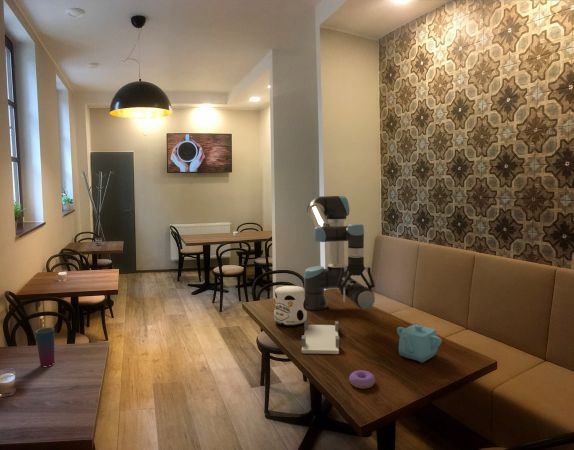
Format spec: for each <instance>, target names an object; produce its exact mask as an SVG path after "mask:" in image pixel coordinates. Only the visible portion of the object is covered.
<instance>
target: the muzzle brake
mask: <svg viewBox="0 0 574 450" xmlns="http://www.w3.org/2000/svg"><path fill="white" fill-rule="evenodd" d="M345 278H346V277H343V278H342V281H341V285H342V283H343V282H344V280H345ZM344 287H345V297H346V298H348V299H349V300H350V301H352V302H353V303H354V305H356V306H357V307H358V308H359V309H362V310H363V309H364V310H365V309H366V310H367V309H369V308H371V307H372V306H374V304H375V300H376V298H375V293H374V292H373V291H372V289H371V290H370V289H368V288H367V287H368V286H367V287H366V286H365V285H363V284H361V283H360V282H358V280H357V281H356V279H354V278H352V276H351V277H350V278H349V280H348V281H347V283H346V285H345V286H344ZM337 289H338V290H339V291H340V292H341V288H340V287H338V288H337Z"/></svg>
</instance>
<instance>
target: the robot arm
mask: <svg viewBox="0 0 574 450" xmlns="http://www.w3.org/2000/svg"><path fill="white" fill-rule="evenodd" d="M350 211H351V210H350V203H349V201H348V199H347V197H346V196H344V195H331V196H330V195H329V196H328V195H326V196H324V195H323V196H317V197H315V198H313V199H312V200H311V201H310V202H309V203H308V204H307V206H306V212H307V216H308V217H309V218H310V219H311V220H312V224H313V225H314V229H313V240H314V242H316V243H326V242H329V263H328V264H327V267H326V268H325V267H324V266H323V265H316V266H315V265H314V266H309V267H308V268H306V269H305V270H304V272H303V274H304V275H303V281H304V284H303V285H304V287H303V288H304V290H305V307H306V310H308V311H310V310H311V311H319V310H325V309H327V308H328V301H327V298H326V295H325V290H326V289H329V290H330V289H339V288H338V287H340V288H341V291H340V295H341V296H342V298H343V300H342V302H344V303H345V302H346V296H345V287H344V286H345V285H346V283H347V281H348V280H349V278H350V277H351V278H352V276H358V277H359V276H360V278H362V279H363V281H364V284H366V286H367V288H368V289H370V290H371V291H372V289H373V288H375V286H376V284H375V283H374V279H373V276H372V273H371V271H372V270H371V267H370V266H365V259H364V256H365V244H364V243H365V228H364V227H365V226H364V224H362V223H350V224H347V225H345V221H346V220H347V217H348V216H350ZM345 242H347V256H348V257H347V264H346V262H345ZM364 271H365V272H366V273H367V274H368V278H369V281H370V283H369V281H368V280H367V278H366V276H365V275H364V273H363V272H364ZM343 277H346V278H345V280H344V282H343V283H342V285H341V281H342V278H343Z"/></svg>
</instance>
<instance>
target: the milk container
mask: <svg viewBox="0 0 574 450" xmlns="http://www.w3.org/2000/svg"><path fill="white" fill-rule="evenodd" d="M274 291H275V292H274V301H275V302H274V303H275V306H274V310H273V320H274V322H275V323H276V324H278V325H281V326H287V327H295V326H299V325H303V324H304V322H305V321H307V319H308V318H307V317H308V313H307V309H306V307H305V290H304V287H302V286H297V285H285V286H284V285H283V286H278V287H276V288H275V290H274Z"/></svg>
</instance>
